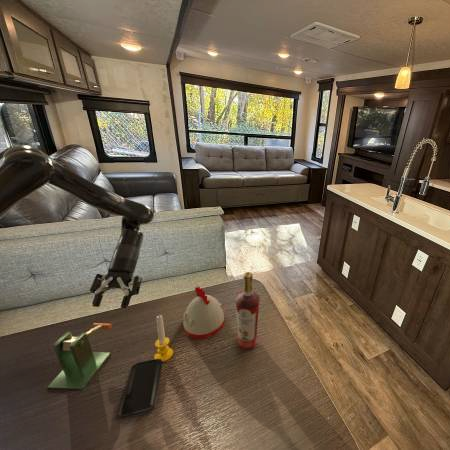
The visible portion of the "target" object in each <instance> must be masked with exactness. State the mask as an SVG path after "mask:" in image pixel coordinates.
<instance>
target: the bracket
mask: <svg viewBox="0 0 450 450" xmlns="http://www.w3.org/2000/svg"><path fill="white" fill-rule="evenodd" d="M71 337H73V334H72V332H71V331H66V332H65V333H64V334H62V336H61V337H60V338H59V339H58V340H57V341H55V342H54V343H53V344H52V347H53V349H54V352H55V354H56V357H57V359H58V361H59V363H60V366H61V369H62V370H61V371H60V372H59V373H58V375H57V376H56V377H55V378H54V379H53V380H52V381H51V382H50V383H49V384H48V385H47V387H46V389H49V390H77V391H79V390H80V391H81V390H82V391H83V390H84V389H85V388H86V386H87V385H88V384H89V383H90V382H91V380H92V379H93V377H94V376H95V375H96V374H97V372H98V371H99V370H100V369H101V367H102V366H103V365H104V364H105V362H106V361H107V359H108V358H109V357H110V356H111V353H112V352H105V351H102V352H101V351H93V349H92V347H91V343H90V341H89V337H87V334H86V332H81V333H80V334H79V335H78V336H76V337H77V338H76V339H75V340H74V341H73V342H72V343H71V344H70V345H69V347H70V350H71V351H64V350H63V341H65V340H67V339H69V338H71Z"/></svg>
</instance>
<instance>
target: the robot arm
mask: <svg viewBox="0 0 450 450" xmlns="http://www.w3.org/2000/svg"><path fill="white" fill-rule="evenodd" d="M48 184H49V185H51V186H54V187H56V188H57V189H60V190H62V191H64V192H66V193H68V194H70V195H72V196H73V197H75V198H77V199H78V200H80V201H81V202H83V203H85V204H86V205H88V206H90V207H92V208H94V209H95V210H98V211H101V212H104V213H106V214H109V215H111V216H114V217H115V216H116V217H121V223H120V224H121V225H120V235H119V238H118V240H117V244H116V246H115V248H114V250H113V253H112V256H111V259H110V262H109V265H108V268H107V273H106V274H101V273H96V274H95V276H94V279H93V281H92V284H91V286H90V288H89V292H91V293H93V294H94V296H93V300H92V307H94V308H100V306H101V303H102V300H103V297H104V294H105V293H106V292H107V291H109V290H111V289H120V290H122V291H123V296H122V300H121V304H120V309H127V308H128V307H129V305H130V302H131V299H132V297H134V296H138V295H139V294H140V289H141V286H142V280H143V278H142V277H141V276H140V275H135V276H133V275H134V274H135V270H136V266H137V264H138V262H139V261H138V260H139V257H140V254H141V253H140V252H141V248H142V244H143V242H144V241H143V240H144V233H143V232H142V231H140V229H141V228H140V227H141V226H145V225H148V224H150V223H152V222H153V221H154V219H155V213H154V212H153V211H154V210H152V209H151V208H150V207H149V206H147V205H146V204H143V203H142V202H141V203H140V202H138V201H134V200H132V199H128V198H126V197H125V198H124V197H123V196H121V195H118V194H117V193H115V192H112V191H111V190H109V189H107V188H104V187H103V186H100V185H99V184H97V183H94V182H92V181H90V179H89V180H88V179H87V178H85V177H83V176H81V175H79V174H78V173H75V172H74V171H73V170H71V169H68V168H67V167H66V166H64V165H63V164H60V162H58V161H57V160H55V159H53V158H52V157H51V156H49V155H48V154H46V153H45V152H44V151H42V150H41V149H38V148H36V147H33V146H30V145H14V146H12V147H10V148H8V149H6V150H5V151H4V153H3V155H2V164H1V165H0V220H1V219H2V218H3V217H4V216H5V215H7V213H8V212H9V211H10V210H12V209H13V207H15V206H16V205H17V204H19V203H20V202H21V201H22V200H24V199H26V198H27V197H29V196H31V194H34V193H35V192H36V191H38V190H40V189H41V188H43V187H44V186H45V185H48ZM103 281H104V282H103ZM131 282H132V285H130V283H131ZM131 286H132V287H131Z"/></svg>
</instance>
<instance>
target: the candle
mask: <svg viewBox="0 0 450 450" xmlns="http://www.w3.org/2000/svg"><path fill="white" fill-rule="evenodd" d="M156 329H157V336H158V338H157V340H155V343H154V345H155V347H156V348H157V350H156V351H157V353H155V354H154V355H153V360H154V359H161V360H162V363H164V362H167V361H169V360H170V359H171V358H172V357H173V355H174V350H173V349H172V348H171V347H169V345H168V344H169V343H170V338H169V337H167V336H166V334H165V325H164V318H163V315H162V314H159V315H157V316H156Z"/></svg>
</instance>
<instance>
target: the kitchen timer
mask: <svg viewBox="0 0 450 450" xmlns="http://www.w3.org/2000/svg"><path fill="white" fill-rule="evenodd" d="M194 291H195V293H196V297H194V298H193V299H192V300H191V301H190V303H189V304H188V306H187V308H186V310H185V312H183V316H182V317H183V330H184V332H185V334H186V335H187V336H188V337H190V338H193V339H206V337H207V338H209V337H212V336H214V335H216V334H217V333H218V332H219V331H220V330H221V329H222V328H223V327H224V325H223V324H225V314H224V311H223V304H222V303H221V302H220V301H219V299H218V298H216V297H213V296H212V295H209V294H206V292H205V290H203V288H201V287H200V286H197V287H194Z"/></svg>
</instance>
